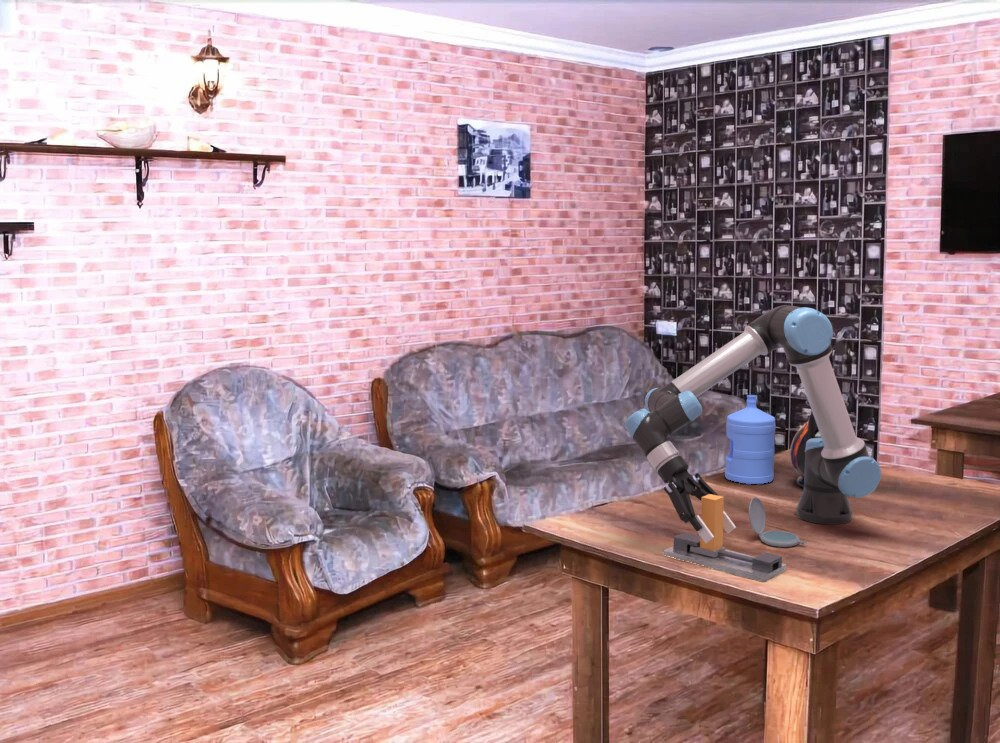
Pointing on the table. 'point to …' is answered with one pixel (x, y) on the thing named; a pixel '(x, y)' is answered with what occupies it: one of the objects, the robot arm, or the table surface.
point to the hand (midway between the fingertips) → (721, 535)
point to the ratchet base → (727, 560)
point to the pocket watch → (769, 537)
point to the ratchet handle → (714, 529)
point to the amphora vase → (803, 445)
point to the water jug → (750, 445)
